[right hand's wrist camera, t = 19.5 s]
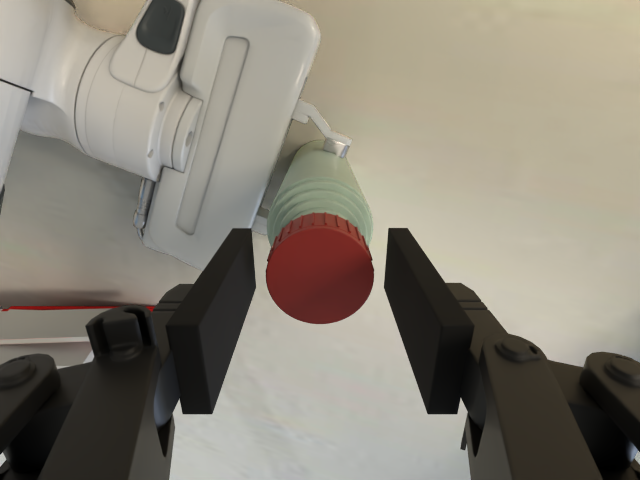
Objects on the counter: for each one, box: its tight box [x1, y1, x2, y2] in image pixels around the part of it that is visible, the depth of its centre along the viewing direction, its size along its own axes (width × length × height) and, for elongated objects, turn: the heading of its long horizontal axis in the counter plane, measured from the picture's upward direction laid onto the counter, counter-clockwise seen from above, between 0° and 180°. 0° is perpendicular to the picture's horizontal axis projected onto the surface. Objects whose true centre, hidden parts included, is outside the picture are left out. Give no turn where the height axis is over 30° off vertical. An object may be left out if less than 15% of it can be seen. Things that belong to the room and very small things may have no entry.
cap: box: [266, 212, 374, 324], centre depth 14 cm, size 4×4×2 cm
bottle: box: [267, 140, 373, 247], centre depth 23 cm, size 5×5×22 cm
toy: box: [0, 306, 155, 369], centre depth 35 cm, size 12×13×30 cm
